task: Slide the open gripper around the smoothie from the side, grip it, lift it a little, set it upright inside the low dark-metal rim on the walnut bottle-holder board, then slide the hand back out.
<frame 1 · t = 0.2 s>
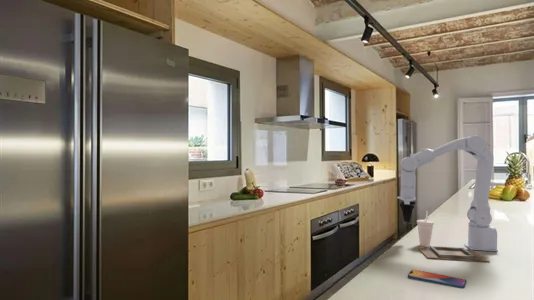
hand: (407, 220, 155), 9 cm above the countertop, fingers open, 7 cm apart
smoothie: (424, 245, 152), on the countertop
smartphone: (436, 281, 111), on the countertop
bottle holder: (451, 255, 138), on the countertop
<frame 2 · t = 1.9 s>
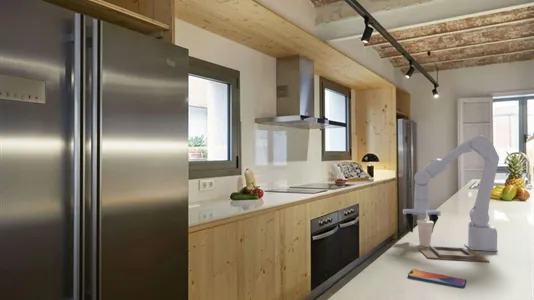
hand: (421, 232, 158), 4 cm above the countertop, fingers open, 7 cm apart
nothing on the countertop moved.
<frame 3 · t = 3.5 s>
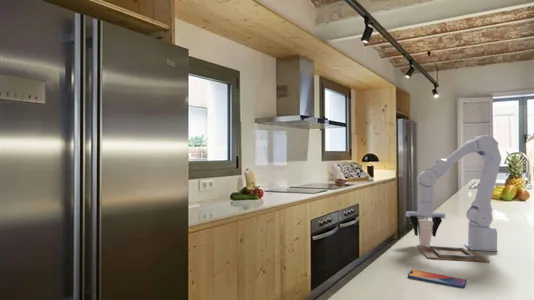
hand: (424, 235, 152), 4 cm above the countertop, fingers closed on smoothie, 6 cm apart
smoothie: (424, 245, 152), on the countertop, touching gripper
everything else where it was.
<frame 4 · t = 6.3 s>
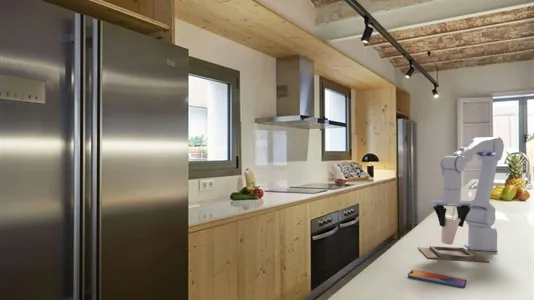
hand: (451, 226, 138), 10 cm above the countertop, fingers closed on smoothie, 6 cm apart
smoothie: (446, 243, 140), point 4 cm above the countertop, touching gripper
everything else where it was.
when the fingers open (6 cm above the countertop, at t = 8.0 s): smoothie stays where it is, resting on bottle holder.
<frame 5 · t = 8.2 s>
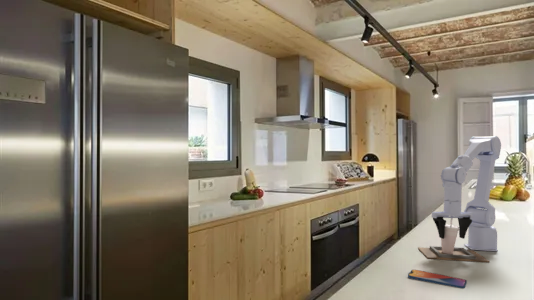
hand: (451, 237, 138), 6 cm above the countertop, fingers open, 7 cm apart
smoothie: (447, 252, 139), resting on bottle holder, touching gripper
everything else where it was.
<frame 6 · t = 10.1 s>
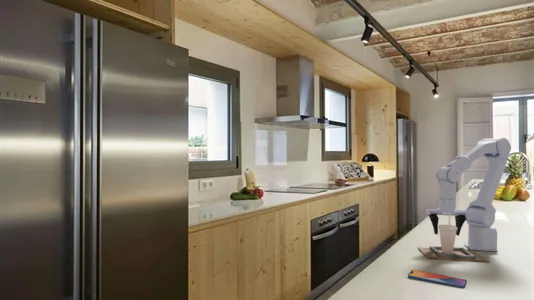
hand: (446, 234, 144), 6 cm above the countertop, fingers open, 7 cm apart
smoothie: (447, 253, 139), resting on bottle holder
everything else where it was.
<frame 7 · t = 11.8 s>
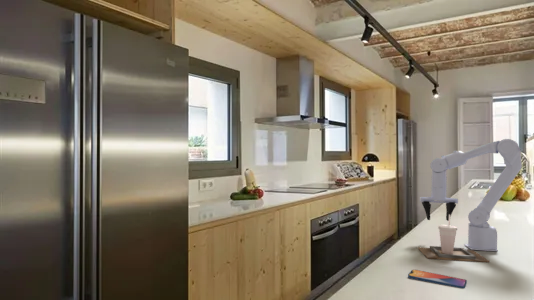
hand: (438, 220, 158), 9 cm above the countertop, fingers open, 7 cm apart
nothing on the countertop moved.
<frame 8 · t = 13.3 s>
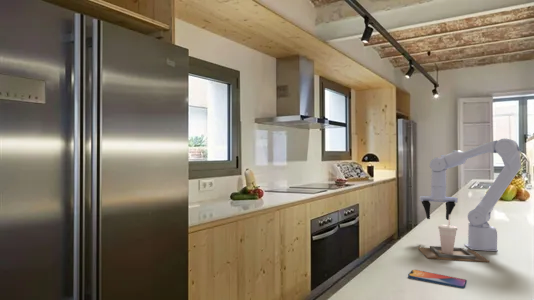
hand: (437, 219, 159), 9 cm above the countertop, fingers open, 7 cm apart
nothing on the countertop moved.
at the end: smoothie 1.6 cm off-centre on the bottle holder, point 0.3 cm above the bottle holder's base; smoothie tilted 0°; the gripper is holding nothing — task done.
